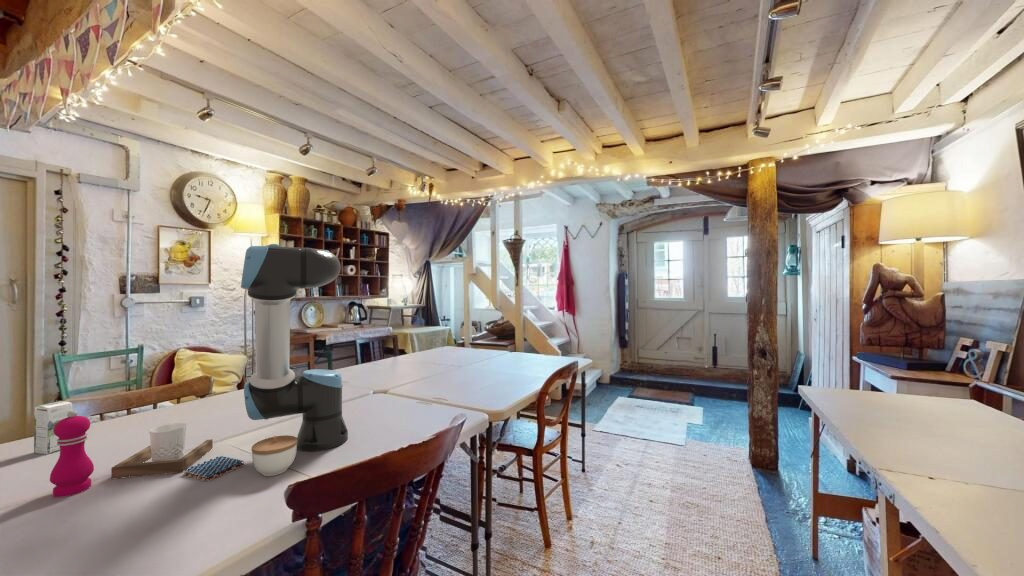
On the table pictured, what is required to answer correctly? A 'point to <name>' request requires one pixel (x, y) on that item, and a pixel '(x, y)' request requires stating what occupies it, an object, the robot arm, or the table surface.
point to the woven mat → (213, 468)
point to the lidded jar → (274, 454)
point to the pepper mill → (71, 456)
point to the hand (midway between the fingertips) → (261, 353)
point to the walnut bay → (158, 462)
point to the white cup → (168, 441)
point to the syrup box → (48, 425)
